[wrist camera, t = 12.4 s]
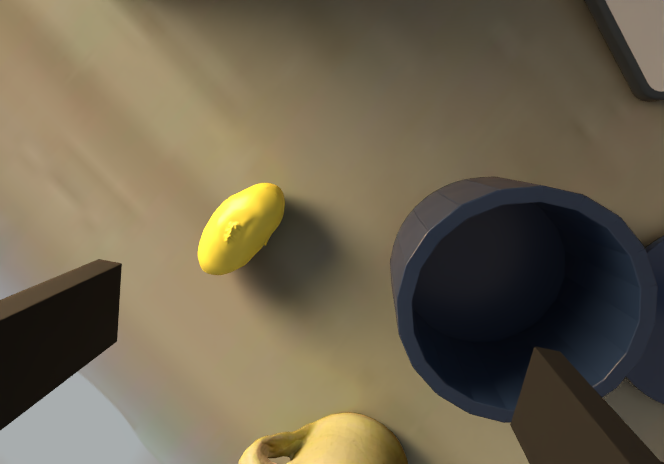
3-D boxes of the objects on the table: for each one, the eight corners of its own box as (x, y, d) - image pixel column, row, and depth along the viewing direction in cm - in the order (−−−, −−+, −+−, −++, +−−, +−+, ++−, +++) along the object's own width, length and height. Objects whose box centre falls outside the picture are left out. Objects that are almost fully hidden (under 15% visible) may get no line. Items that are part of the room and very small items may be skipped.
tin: (415, 158, 28) (434, 160, 20) (600, 200, 27) (698, 220, 19) (372, 325, 31) (372, 389, 22) (539, 367, 30) (604, 448, 22)
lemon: (305, 209, 29) (295, 217, 26) (230, 279, 31) (210, 297, 27) (265, 166, 29) (249, 168, 25) (191, 239, 31) (166, 251, 27)
